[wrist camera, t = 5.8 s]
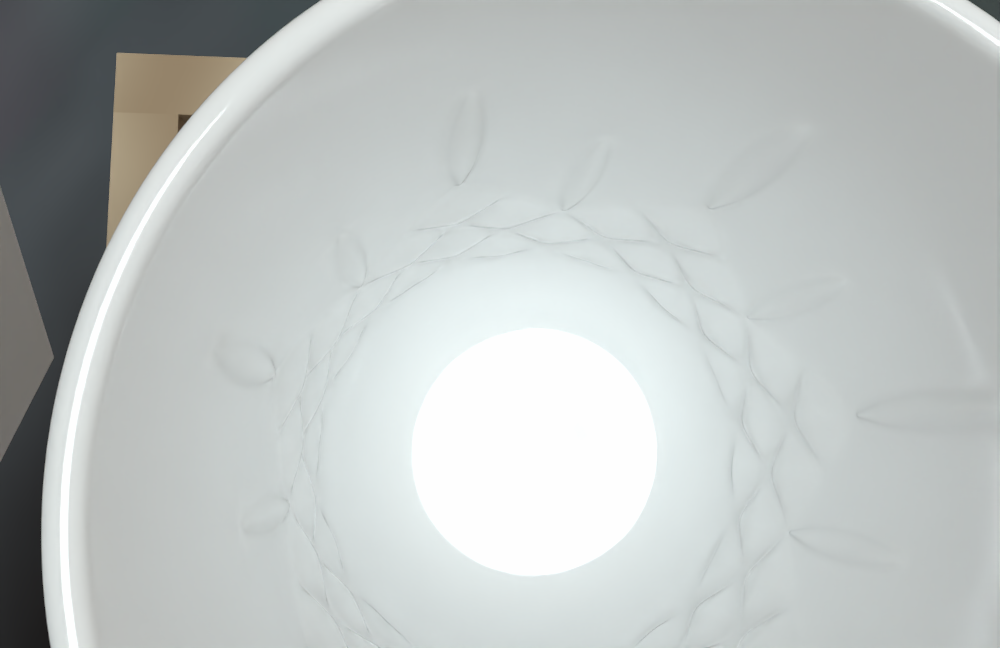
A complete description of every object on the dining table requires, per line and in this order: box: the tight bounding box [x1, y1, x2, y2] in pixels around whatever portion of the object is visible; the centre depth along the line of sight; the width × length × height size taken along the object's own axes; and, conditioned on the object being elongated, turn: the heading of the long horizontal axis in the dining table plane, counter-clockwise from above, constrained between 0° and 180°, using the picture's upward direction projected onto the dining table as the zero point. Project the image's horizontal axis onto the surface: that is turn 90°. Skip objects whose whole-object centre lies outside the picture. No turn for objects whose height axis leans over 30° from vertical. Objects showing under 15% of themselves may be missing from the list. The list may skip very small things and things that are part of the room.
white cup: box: [41, 0, 1000, 648], centre depth 10 cm, size 8×8×10 cm
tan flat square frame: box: [106, 53, 246, 248], centre depth 14 cm, size 13×13×2 cm
